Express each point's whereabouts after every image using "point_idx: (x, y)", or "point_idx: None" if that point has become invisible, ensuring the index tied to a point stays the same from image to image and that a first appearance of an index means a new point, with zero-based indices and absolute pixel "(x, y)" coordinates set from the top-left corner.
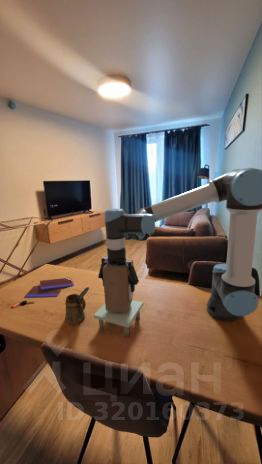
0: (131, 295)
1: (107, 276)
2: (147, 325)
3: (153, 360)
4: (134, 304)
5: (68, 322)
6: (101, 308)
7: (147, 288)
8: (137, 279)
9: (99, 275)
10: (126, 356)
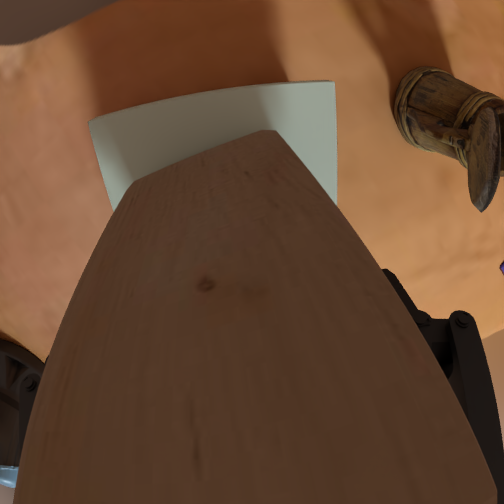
0: None
1: (328, 393)
2: None
3: (3, 94)
4: None
5: (435, 68)
6: (329, 154)
7: None
8: None
9: (469, 336)
10: (81, 37)
